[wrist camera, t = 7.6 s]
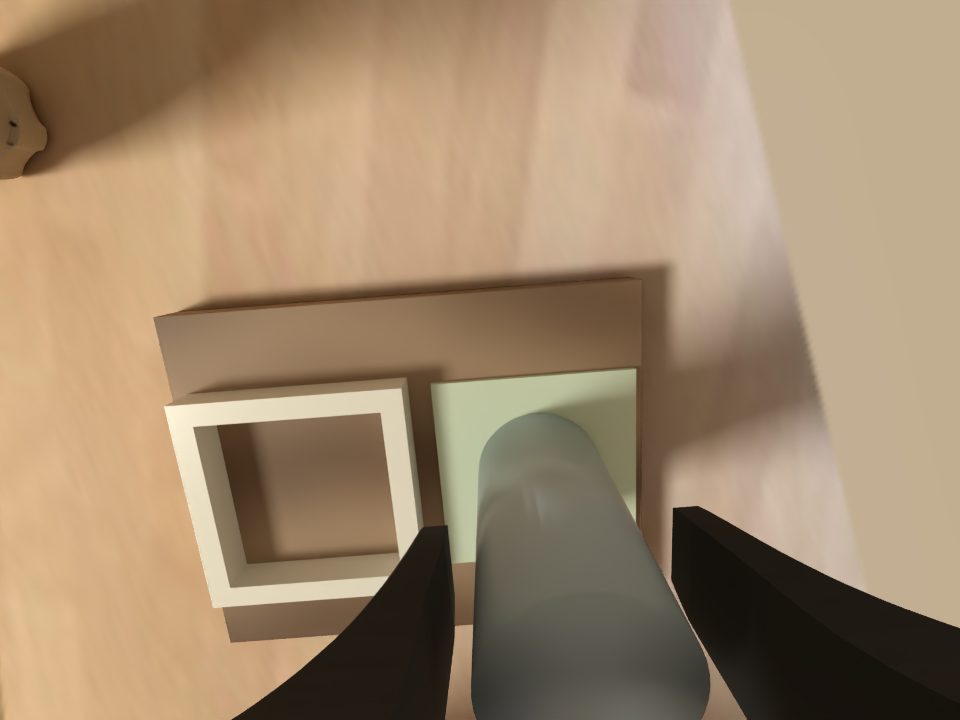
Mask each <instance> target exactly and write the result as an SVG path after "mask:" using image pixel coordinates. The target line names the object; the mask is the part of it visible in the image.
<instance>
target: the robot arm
mask: <svg viewBox="0 0 960 720" xmlns="http://www.w3.org/2000/svg"><path fill="white" fill-rule="evenodd" d="M671 581H672V583H673V585H674V588H675V590H676V592H677V595H678V597H679V600H680V602H681V604H682V606H683V609H684V611H685V613H686V615H687V617H688V620H689V621H690V623H691V625H692V627H693V628H694V630H695V632H696V634H697V635H698V637H699V639H700V640H701V642H702V644H703V646H704V647H705V649H706V651H707V652H708V654H709V656H710V657H711V659H712V661H713V663H714V664H715V666H716V668H717V669H718V671H719V673H720V674H721V676H722V678H723V679H724V681H725V683H726V684H727V686H728V688H729V689H730V691H731V693H732V694H733V696H734V698H735V699H736V701H737V703H738V704H739V706H740V708H741V709H742V711H743V713H744V715H745V716H746V718H747V720H960V628H958V627H955V626H952V625H949V624H946V623H943V622H940V621H938V620H935V619H932V618H929V617H927V616H924V615H921V614H918V613H915V612H913V611H910V610H907V609H904V608H902V607H899V606H897V605H894V604H891V603H889V602H886V601H884V600H882V599H879V598H877V597H874V596H872V595H870V594H867V593H865V592H863V591H860V590H858V589H856V588H853V587H851V586H849V585H847V584H844V583H842V582H840V581H838V580H836V579H833V578H831V577H829V576H827V575H825V574H823V573H821V572H819V571H817V570H815V569H813V568H811V567H809V566H807V565H805V564H803V563H801V562H799V561H797V560H795V559H793V558H791V557H789V556H788V555H786V554H784V553H782V552H780V551H778V550H776V549H775V548H773V547H771V546H769V545H767V544H766V543H764V542H762V541H760V540H758V539H757V538H755V537H753V536H751V535H750V534H748V533H746V532H744V531H743V530H741V529H739V528H737V527H736V526H734V525H732V524H730V523H729V522H727V521H725V520H723V519H722V518H720V517H718V516H716V515H714V514H713V513H711V512H709V511H707V510H705V509H703V508H701V507H699V506H692V507H679V508H673V528H672V572H671ZM454 637H455V592H454V582H453V572H452V562H451V553H450V543H449V533H448V525H442V526H428V527H423V528H422V529H421V530H420V531H419V532H418V534H417V536H416V537H415V539H414V540H413V542H412V544H411V545H410V547H409V548H408V550H407V551H406V553H405V554H404V556H403V557H402V559H401V560H400V562H399V563H398V565H397V566H396V568H395V569H394V570H393V572H392V573H391V575H390V576H389V577H388V579H387V580H386V581H385V583H384V584H383V585H382V587H381V588H380V589H379V590H378V592H377V593H376V594H375V595H374V596H373V598H372V599H371V600H370V601H369V603H368V604H367V605H366V606H365V608H364V609H363V610H362V611H361V612H360V613H359V614H358V615H357V617H356V618H355V619H354V620H353V621H352V622H351V623H350V624H349V625H348V626H347V627H346V628H345V629H344V630H343V631H342V633H341V634H340V635H339V636H338V637H337V638H336V639H335V640H334V641H333V642H331V643H330V644H329V645H328V646H327V647H326V648H325V649H323V650H322V651H321V652H320V653H319V654H318V655H317V656H315V657H314V658H313V659H312V660H311V661H310V662H309V663H307V664H306V665H305V666H304V667H303V668H302V669H301V670H299V671H298V672H297V673H296V674H295V675H293V676H292V677H291V678H289V679H288V680H287V681H286V682H284V683H283V684H282V685H280V686H279V687H278V688H276V689H275V690H274V691H272V692H271V693H270V694H268V695H267V696H265V697H264V698H263V699H261V700H260V701H259V702H257V703H256V704H254V705H253V706H251V707H250V708H249V709H247V710H246V711H244V712H243V713H241V714H240V715H238V716H236V717H235V718H233V719H232V720H445V714H446V705H447V697H448V689H449V680H450V672H451V664H452V655H453V646H454Z"/></svg>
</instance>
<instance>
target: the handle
mask: <svg viewBox="0 0 960 720" xmlns="http://www.w3.org/2000/svg"><path fill="white" fill-rule="evenodd" d="M46 143H47V130H46V127H44V126H43V125H42V124H41V123H40V121H39V120H38V118H37V116H36V114H35V112H34V110H33V107H32V104H31V100H30V90H29V89H28V87H27V85H26V84H25V83H24V82H23V81H22V80H21V79H20V78H18V77H17V76H16V75H14V74H13V73H11V72H9V71H8V70H6V69H4V68H2V67H1V66H0V180H5V179H14V178H17V177H19V176H20V175H22V174H23V168H24V166H25V164H26V163H27V161H28V160H29V158H30V157H31V156H32V155H33V154H34V153H35V152H37V151H41V150H44V148H45V146H46Z"/></svg>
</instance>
